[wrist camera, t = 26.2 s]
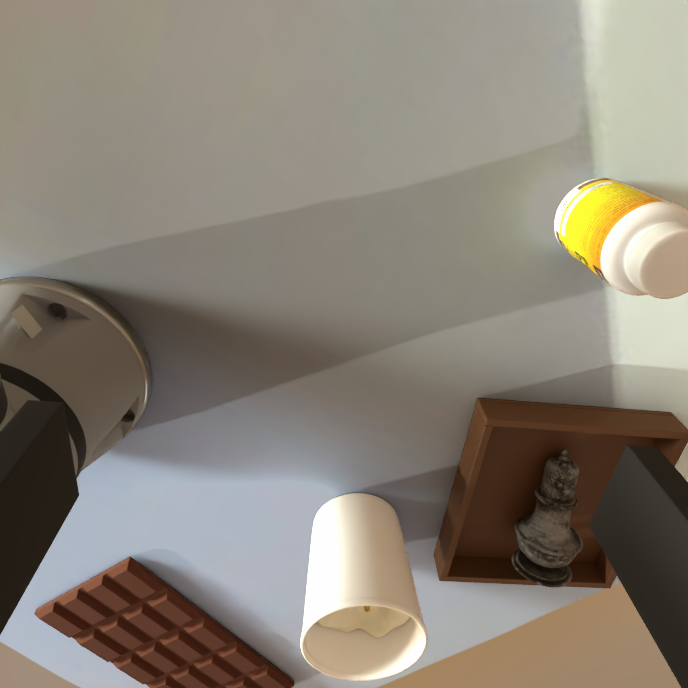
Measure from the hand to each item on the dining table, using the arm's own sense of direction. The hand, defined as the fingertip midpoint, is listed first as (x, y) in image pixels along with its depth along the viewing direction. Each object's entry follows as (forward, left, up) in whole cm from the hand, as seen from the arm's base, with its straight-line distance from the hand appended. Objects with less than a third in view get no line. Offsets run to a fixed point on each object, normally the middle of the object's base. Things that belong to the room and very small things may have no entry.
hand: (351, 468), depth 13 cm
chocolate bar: (-33, -41, -27) cm, 59 cm away
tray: (+10, -32, -27) cm, 43 cm away
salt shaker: (+7, -37, -22) cm, 44 cm away
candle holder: (-8, -30, -27) cm, 41 cm away
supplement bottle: (+17, -7, -27) cm, 33 cm away
